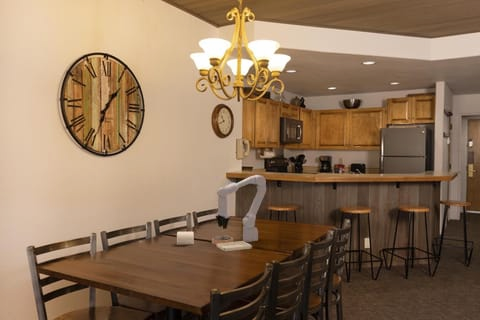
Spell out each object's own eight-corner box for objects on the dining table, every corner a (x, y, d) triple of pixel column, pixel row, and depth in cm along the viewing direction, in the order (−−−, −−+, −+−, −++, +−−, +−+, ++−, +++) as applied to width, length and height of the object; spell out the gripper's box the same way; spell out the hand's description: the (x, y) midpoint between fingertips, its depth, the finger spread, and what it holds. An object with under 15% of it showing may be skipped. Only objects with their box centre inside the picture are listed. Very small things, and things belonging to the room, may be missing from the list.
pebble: (220, 241, 247) (220, 235, 247) (222, 243, 243) (222, 237, 243) (213, 242, 245) (213, 236, 245) (216, 244, 241) (216, 237, 241)
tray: (243, 244, 242) (243, 240, 242) (252, 249, 230) (252, 245, 230) (216, 247, 235) (216, 243, 235) (224, 252, 223) (224, 248, 223)
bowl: (227, 240, 254) (227, 235, 254) (235, 245, 242) (235, 239, 242) (209, 242, 248) (209, 237, 248) (216, 247, 237) (216, 241, 237)
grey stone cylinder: (227, 241, 249) (227, 234, 249) (230, 242, 245) (230, 236, 245) (221, 241, 247) (221, 235, 247) (224, 243, 243) (224, 237, 243)
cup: (193, 242, 237) (176, 243, 236) (193, 248, 248) (177, 248, 247) (193, 229, 241) (177, 230, 240) (193, 235, 252) (178, 235, 251)
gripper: (212, 205, 252) (212, 226, 252) (220, 208, 239) (220, 230, 239) (222, 204, 255) (222, 225, 255) (231, 207, 242) (231, 229, 242)
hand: (222, 227), depth 247 cm, fingers open, 7 cm apart
